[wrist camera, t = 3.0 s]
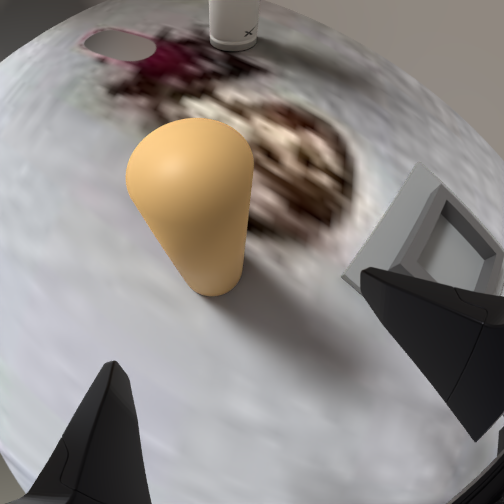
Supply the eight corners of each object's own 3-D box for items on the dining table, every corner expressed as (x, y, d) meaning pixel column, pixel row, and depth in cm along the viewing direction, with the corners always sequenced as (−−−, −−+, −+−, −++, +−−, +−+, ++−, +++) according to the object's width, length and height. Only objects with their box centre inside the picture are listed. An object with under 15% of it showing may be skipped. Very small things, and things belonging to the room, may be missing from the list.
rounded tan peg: (213, 309, 21) (185, 252, 9) (170, 268, 22) (103, 172, 10) (255, 264, 22) (280, 160, 10) (211, 226, 23) (192, 102, 11)
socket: (458, 383, 20) (478, 384, 17) (340, 276, 22) (354, 266, 20) (505, 259, 24) (521, 251, 22) (415, 164, 27) (427, 149, 24)
